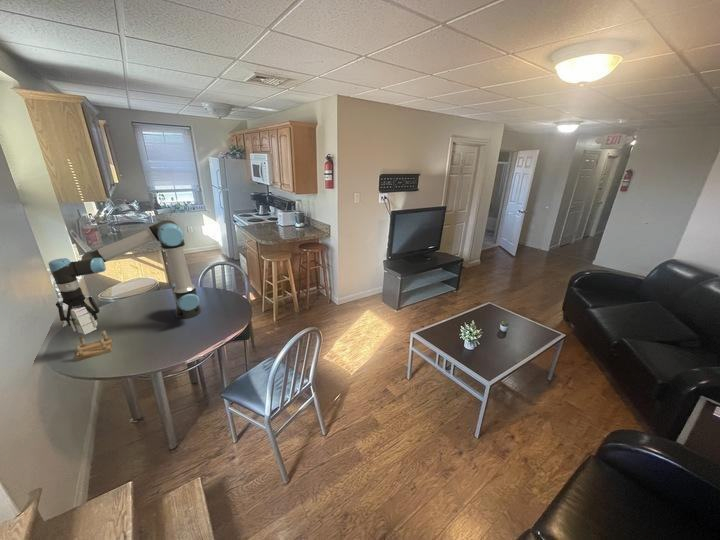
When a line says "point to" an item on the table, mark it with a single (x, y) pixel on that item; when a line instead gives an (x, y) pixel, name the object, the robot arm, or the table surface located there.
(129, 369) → the table surface
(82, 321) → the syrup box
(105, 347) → the peg rack
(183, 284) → the robot arm
